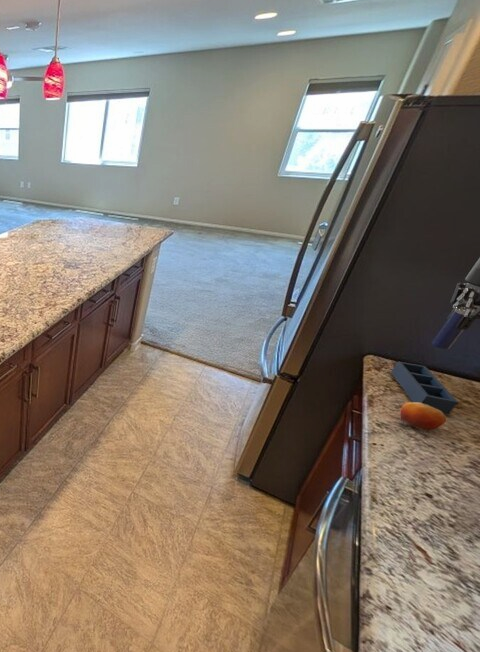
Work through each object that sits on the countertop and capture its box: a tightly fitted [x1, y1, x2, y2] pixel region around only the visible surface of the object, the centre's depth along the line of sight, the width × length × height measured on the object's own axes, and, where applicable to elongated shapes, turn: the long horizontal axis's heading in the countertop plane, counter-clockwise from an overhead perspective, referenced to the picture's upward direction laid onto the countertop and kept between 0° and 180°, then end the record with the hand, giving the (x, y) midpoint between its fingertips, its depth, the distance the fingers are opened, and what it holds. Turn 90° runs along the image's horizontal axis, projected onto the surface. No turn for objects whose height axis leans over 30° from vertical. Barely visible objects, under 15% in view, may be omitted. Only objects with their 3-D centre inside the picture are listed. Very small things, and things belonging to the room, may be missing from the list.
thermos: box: [431, 306, 475, 350], centre depth 108 cm, size 4×4×12 cm
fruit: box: [399, 401, 447, 434], centre depth 105 cm, size 8×8×8 cm
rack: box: [390, 361, 459, 415], centre depth 117 cm, size 7×18×4 cm, turn 155°
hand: (456, 324), depth 108 cm, fingers closed on thermos, 3 cm apart
